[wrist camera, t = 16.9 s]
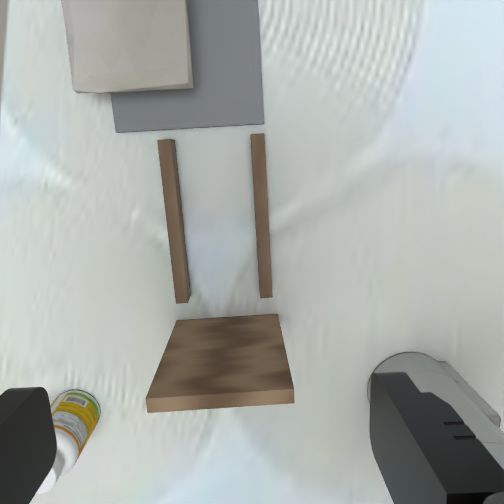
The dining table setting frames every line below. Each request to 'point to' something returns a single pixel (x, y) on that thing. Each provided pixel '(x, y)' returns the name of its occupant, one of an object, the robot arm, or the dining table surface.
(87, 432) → the supplement bottle
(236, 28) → the charcoal pad
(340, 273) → the dining table surface
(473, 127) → the dining table surface
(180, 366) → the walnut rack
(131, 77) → the packaged product
